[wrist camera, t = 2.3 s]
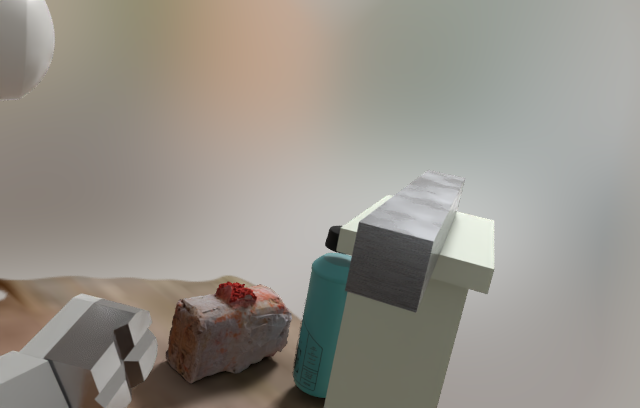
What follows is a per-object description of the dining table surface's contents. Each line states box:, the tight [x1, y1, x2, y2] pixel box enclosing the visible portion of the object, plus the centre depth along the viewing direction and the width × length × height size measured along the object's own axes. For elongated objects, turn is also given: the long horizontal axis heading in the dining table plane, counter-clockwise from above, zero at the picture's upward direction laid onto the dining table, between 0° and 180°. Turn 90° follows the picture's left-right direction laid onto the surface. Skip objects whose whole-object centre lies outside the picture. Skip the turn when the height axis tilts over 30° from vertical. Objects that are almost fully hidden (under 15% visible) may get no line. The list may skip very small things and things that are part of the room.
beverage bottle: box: [292, 226, 352, 398], centre depth 54 cm, size 6×7×20 cm
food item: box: [166, 282, 292, 383], centre depth 59 cm, size 14×8×10 cm, turn 135°
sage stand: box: [324, 195, 494, 408], centre depth 37 cm, size 14×9×26 cm, turn 160°
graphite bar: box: [345, 170, 465, 313], centre depth 30 cm, size 22×3×3 cm, turn 160°
